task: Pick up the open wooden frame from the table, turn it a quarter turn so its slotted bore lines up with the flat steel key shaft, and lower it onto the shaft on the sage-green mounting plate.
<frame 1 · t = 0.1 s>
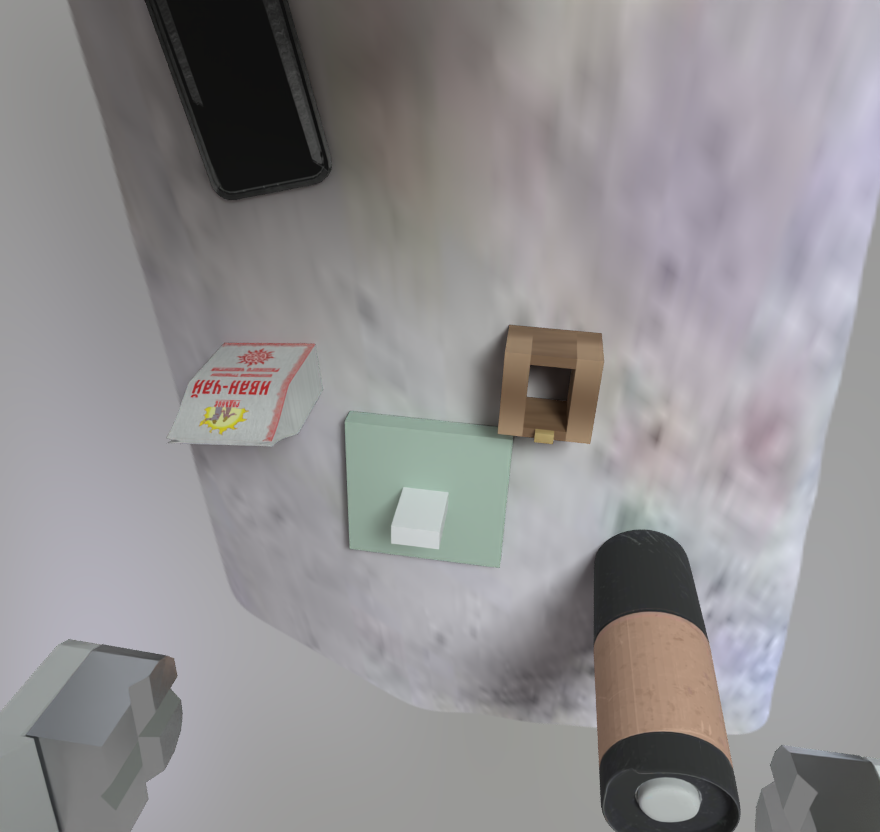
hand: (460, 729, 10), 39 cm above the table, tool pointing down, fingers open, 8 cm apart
open wooden frame: (550, 369, 50), on the table
travel mug: (640, 562, 58), on the table
white boxy piece: (275, 365, 54), on the table
phone: (239, 58, 44), on the table
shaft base: (428, 486, 57), on the table
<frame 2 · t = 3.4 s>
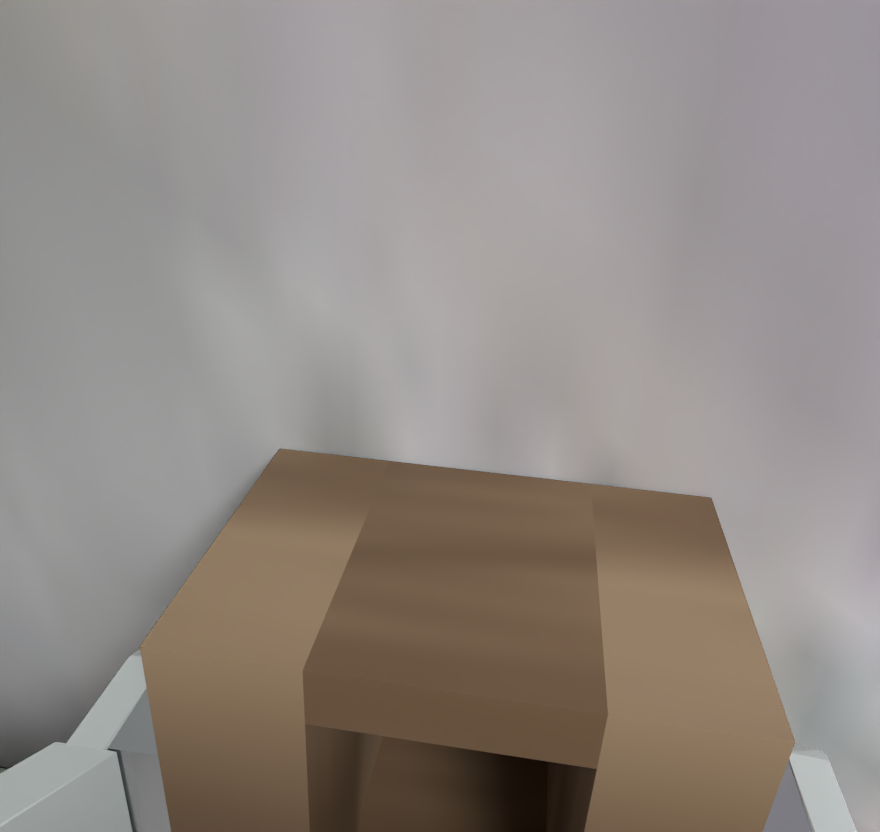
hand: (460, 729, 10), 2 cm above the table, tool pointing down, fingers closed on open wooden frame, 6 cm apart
open wooden frame: (474, 638, 12), on the table, touching gripper
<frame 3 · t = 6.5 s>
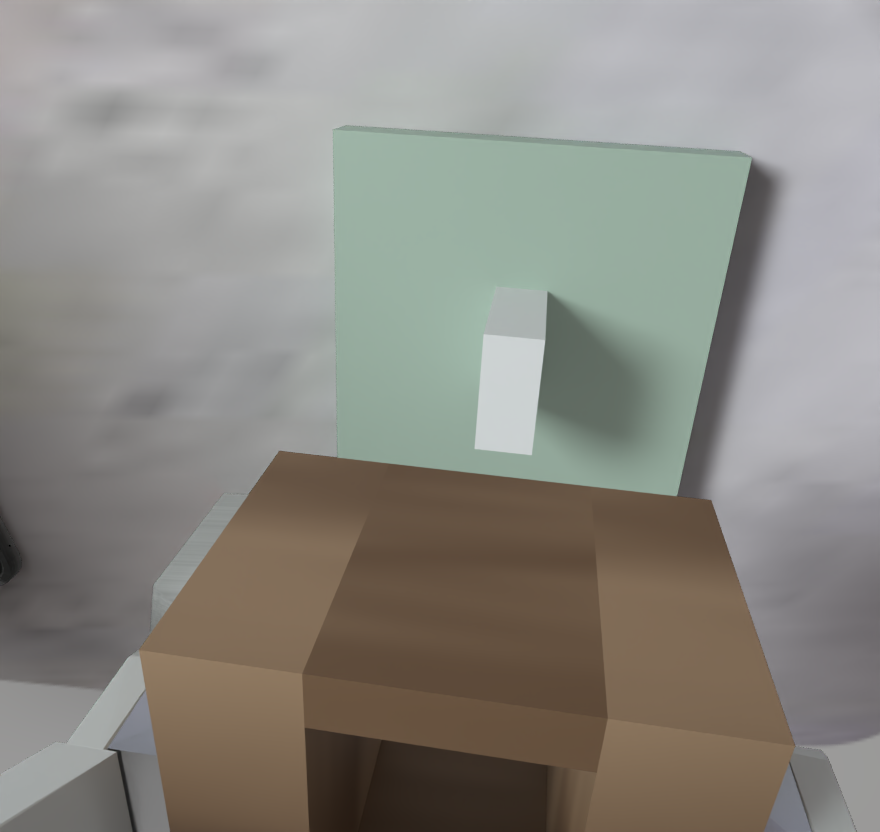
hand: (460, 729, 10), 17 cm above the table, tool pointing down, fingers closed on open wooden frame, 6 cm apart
open wooden frame: (473, 640, 12), point 15 cm above the table, touching gripper
white boxy piece: (280, 560, 32), on the table
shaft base: (518, 324, 25), on the table
when the fingers open (4 cm above the table, at t = 10.0 s): open wooden frame stays where it is, resting on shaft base.
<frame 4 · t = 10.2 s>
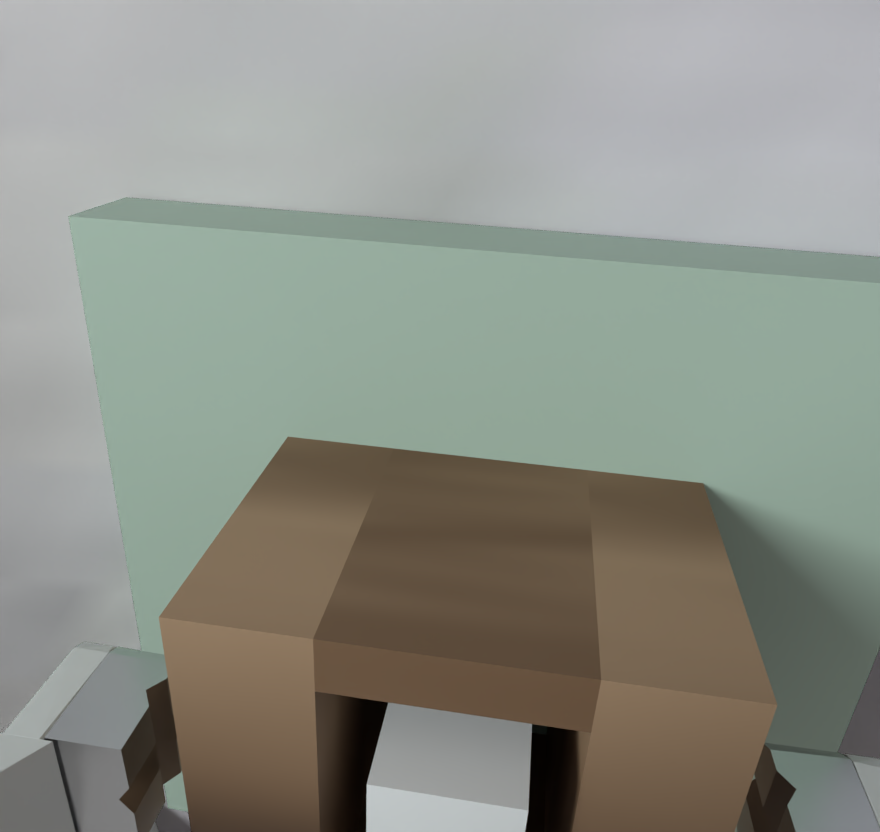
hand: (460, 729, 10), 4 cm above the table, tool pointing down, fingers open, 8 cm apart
open wooden frame: (475, 620, 12), point 1 cm above the table, touching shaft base
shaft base: (486, 565, 13), on the table
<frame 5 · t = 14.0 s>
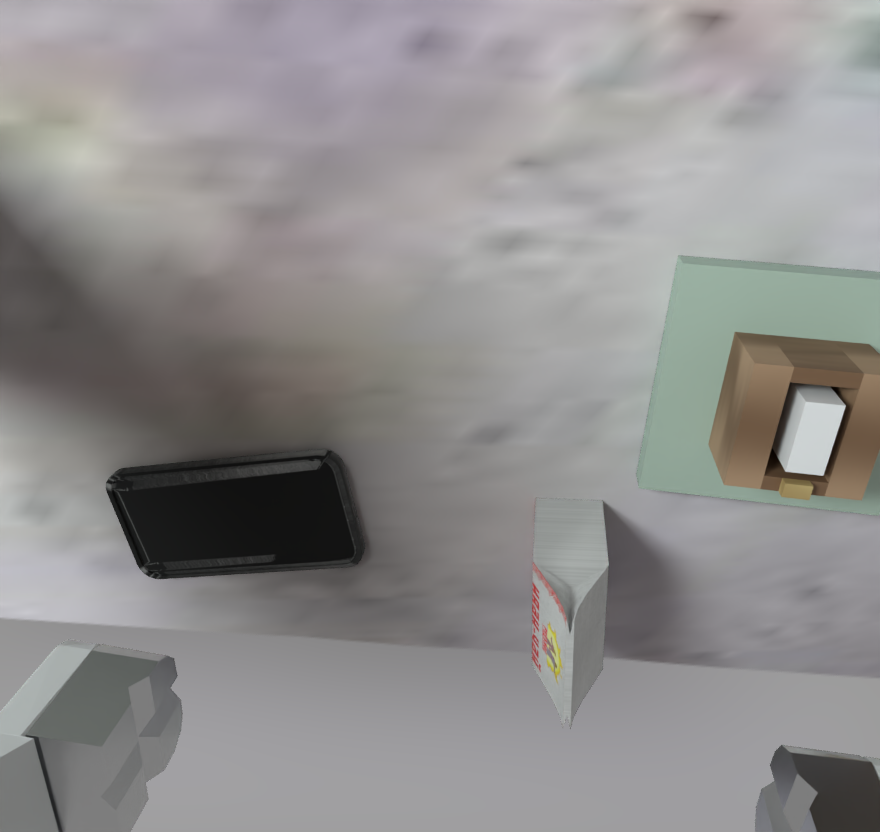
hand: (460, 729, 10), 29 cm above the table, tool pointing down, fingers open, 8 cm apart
open wooden frame: (785, 396, 36), point 1 cm above the table, touching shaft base
white boxy piece: (567, 546, 44), on the table
phone: (241, 510, 46), on the table
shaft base: (778, 384, 37), on the table
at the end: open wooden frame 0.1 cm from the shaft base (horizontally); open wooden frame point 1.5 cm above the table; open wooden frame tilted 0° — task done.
